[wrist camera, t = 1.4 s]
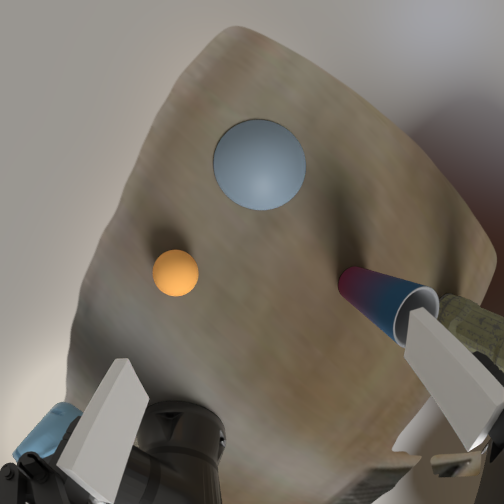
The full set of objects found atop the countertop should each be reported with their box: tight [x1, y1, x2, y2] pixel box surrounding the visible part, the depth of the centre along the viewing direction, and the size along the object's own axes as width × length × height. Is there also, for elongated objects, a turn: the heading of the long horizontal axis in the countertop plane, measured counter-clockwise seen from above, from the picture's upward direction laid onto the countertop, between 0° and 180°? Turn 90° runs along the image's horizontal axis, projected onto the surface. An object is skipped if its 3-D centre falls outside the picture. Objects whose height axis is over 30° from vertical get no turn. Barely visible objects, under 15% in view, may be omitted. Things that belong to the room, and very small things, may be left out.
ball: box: [153, 250, 198, 296], centre depth 32 cm, size 6×6×6 cm
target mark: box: [214, 120, 306, 210], centre depth 34 cm, size 12×12×1 cm
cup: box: [338, 267, 439, 348], centre depth 31 cm, size 7×7×15 cm
